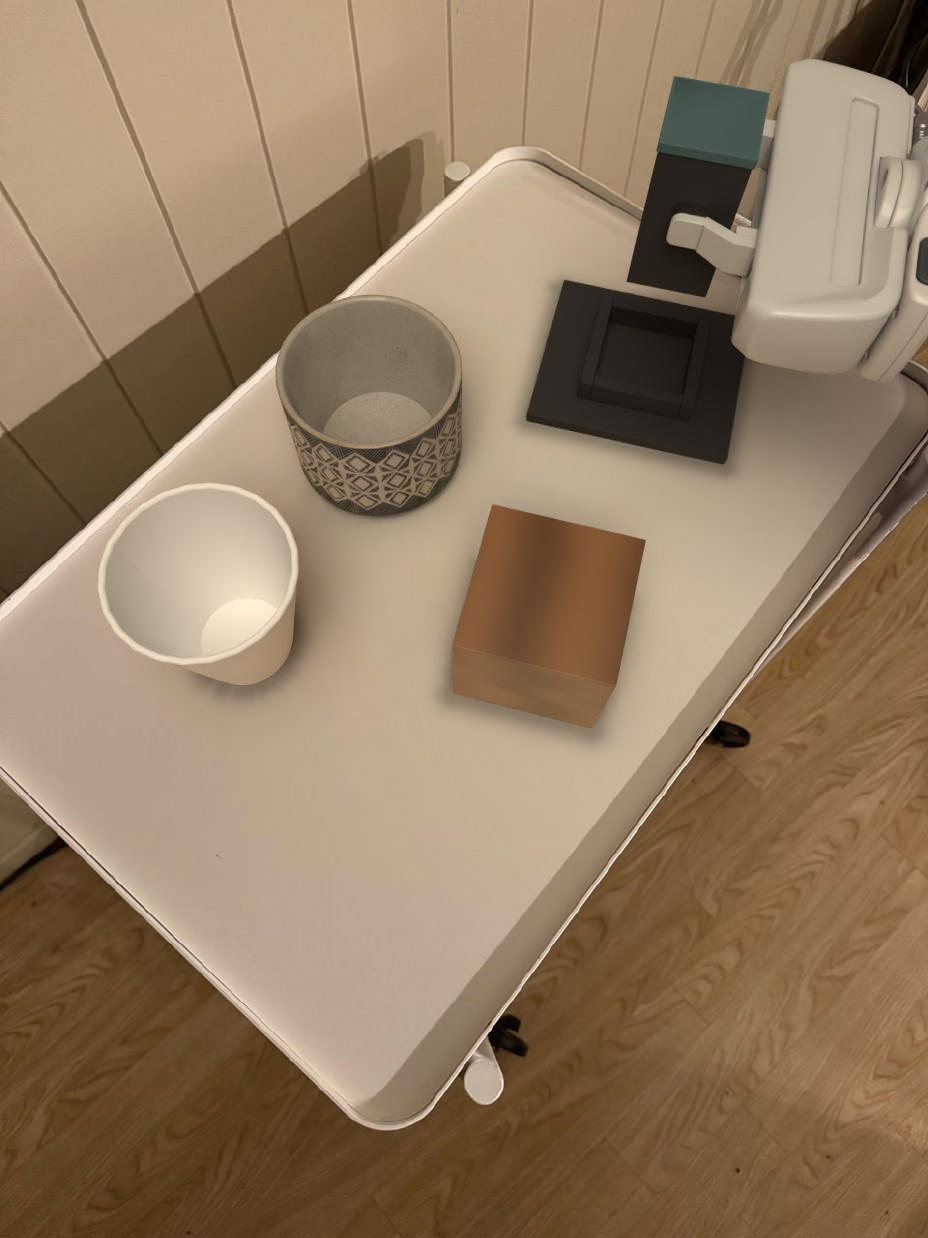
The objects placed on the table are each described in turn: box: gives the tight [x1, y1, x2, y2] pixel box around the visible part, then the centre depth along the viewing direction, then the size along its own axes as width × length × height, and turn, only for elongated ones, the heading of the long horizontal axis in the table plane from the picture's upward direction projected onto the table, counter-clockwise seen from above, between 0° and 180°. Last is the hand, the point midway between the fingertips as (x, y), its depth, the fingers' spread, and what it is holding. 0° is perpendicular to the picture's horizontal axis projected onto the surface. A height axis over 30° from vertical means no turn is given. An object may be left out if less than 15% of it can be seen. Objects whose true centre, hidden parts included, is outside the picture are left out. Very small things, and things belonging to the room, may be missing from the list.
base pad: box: [525, 279, 746, 465], centre depth 70 cm, size 16×14×3 cm
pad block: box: [626, 75, 771, 299], centre depth 51 cm, size 5×5×10 cm
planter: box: [274, 294, 463, 516], centre depth 64 cm, size 13×13×10 cm
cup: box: [97, 481, 300, 686], centre depth 57 cm, size 12×12×12 cm
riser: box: [452, 503, 647, 729], centre depth 58 cm, size 10×10×10 cm
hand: (678, 181), depth 50 cm, fingers closed on pad block, 5 cm apart
